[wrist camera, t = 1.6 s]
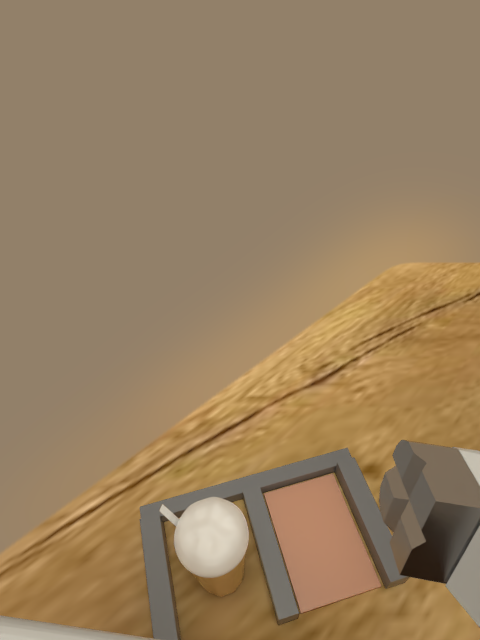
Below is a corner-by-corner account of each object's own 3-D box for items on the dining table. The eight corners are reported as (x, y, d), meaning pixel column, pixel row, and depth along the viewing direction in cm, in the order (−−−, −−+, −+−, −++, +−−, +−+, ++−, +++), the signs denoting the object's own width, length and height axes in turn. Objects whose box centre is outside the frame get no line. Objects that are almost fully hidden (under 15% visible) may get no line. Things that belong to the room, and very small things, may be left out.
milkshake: (195, 527, 36) (176, 471, 28) (260, 551, 34) (258, 499, 27) (170, 588, 33) (142, 545, 26) (240, 617, 31) (231, 580, 24)
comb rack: (345, 454, 39) (348, 444, 38) (404, 582, 32) (410, 575, 31) (142, 512, 37) (138, 504, 35) (161, 664, 30) (156, 661, 29)
